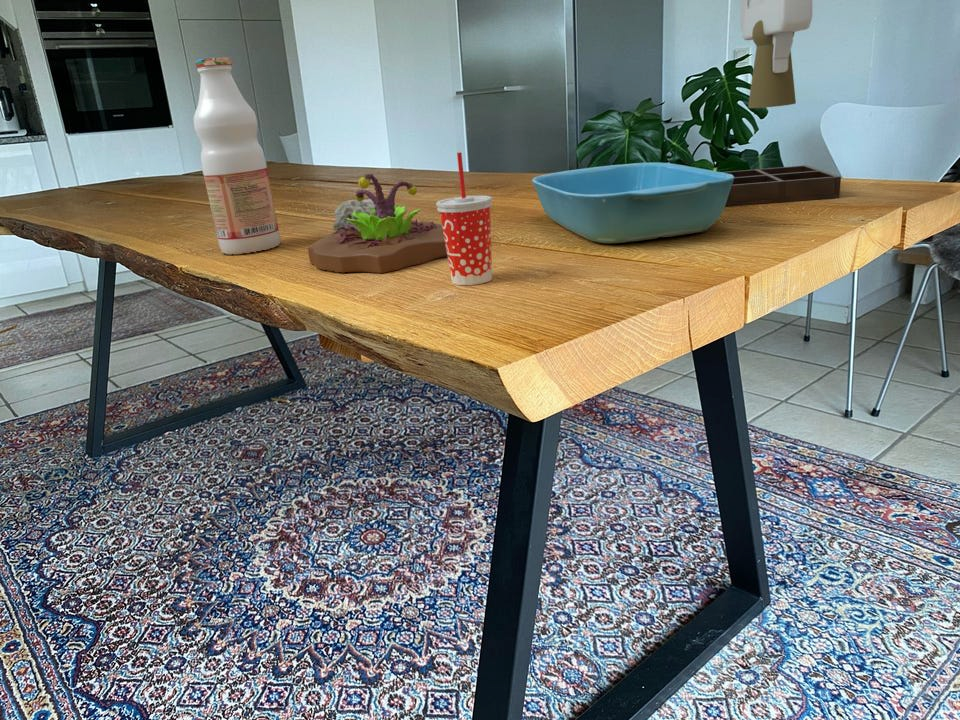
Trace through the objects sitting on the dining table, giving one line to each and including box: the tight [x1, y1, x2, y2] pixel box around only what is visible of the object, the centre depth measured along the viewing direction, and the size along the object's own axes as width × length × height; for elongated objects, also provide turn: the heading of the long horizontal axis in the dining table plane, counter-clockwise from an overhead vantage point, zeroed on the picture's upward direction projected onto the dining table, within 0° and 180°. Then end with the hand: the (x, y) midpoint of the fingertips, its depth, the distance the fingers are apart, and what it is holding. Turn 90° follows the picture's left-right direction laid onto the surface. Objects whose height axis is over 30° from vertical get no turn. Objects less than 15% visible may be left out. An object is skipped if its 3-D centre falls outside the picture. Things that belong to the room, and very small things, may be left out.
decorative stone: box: [332, 198, 375, 233], centre depth 125 cm, size 12×11×5 cm
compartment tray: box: [721, 164, 842, 207], centre depth 118 cm, size 16×16×3 cm
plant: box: [307, 173, 448, 274], centre depth 99 cm, size 20×20×11 cm
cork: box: [747, 20, 797, 109], centre depth 98 cm, size 6×6×11 cm
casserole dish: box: [531, 161, 734, 244], centre depth 105 cm, size 37×22×7 cm, turn 9°
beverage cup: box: [435, 151, 493, 286], centre depth 81 cm, size 6×6×14 cm
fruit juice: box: [192, 57, 281, 255], centre depth 112 cm, size 9×9×28 cm
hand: (772, 73), depth 98 cm, fingers closed on cork, 4 cm apart
